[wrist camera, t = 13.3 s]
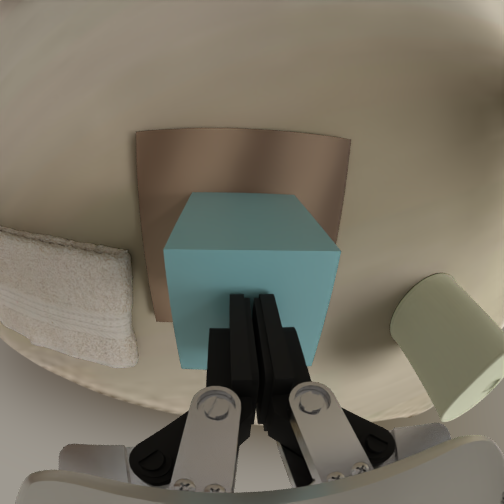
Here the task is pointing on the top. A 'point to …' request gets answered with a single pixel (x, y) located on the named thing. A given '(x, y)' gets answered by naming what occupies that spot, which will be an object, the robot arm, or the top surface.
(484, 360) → the can
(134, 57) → the top surface
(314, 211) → the post board
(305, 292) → the teal block
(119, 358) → the washcloth
